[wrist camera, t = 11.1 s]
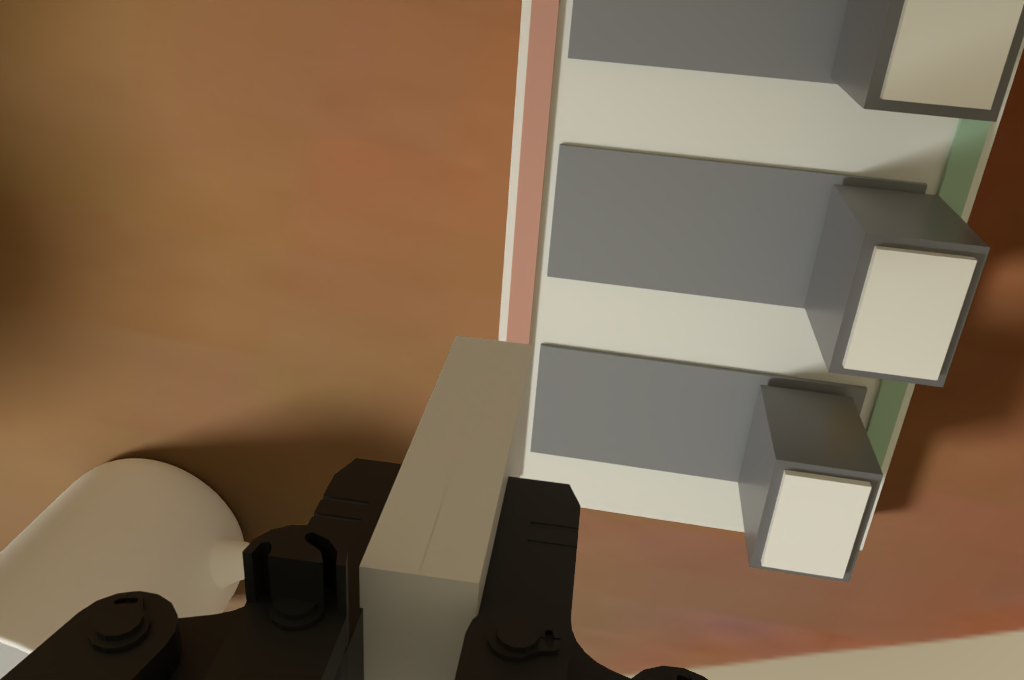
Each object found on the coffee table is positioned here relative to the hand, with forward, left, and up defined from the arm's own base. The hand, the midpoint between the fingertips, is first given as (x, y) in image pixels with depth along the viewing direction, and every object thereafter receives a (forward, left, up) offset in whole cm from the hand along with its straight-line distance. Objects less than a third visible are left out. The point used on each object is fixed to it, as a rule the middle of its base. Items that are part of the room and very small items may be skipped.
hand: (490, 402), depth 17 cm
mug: (-15, -18, -15) cm, 27 cm away
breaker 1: (+9, -7, -12) cm, 16 cm away
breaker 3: (+10, 0, -12) cm, 15 cm away
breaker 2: (+9, +7, -12) cm, 16 cm away
